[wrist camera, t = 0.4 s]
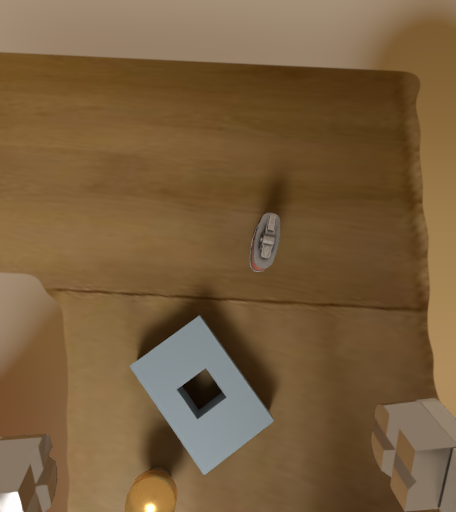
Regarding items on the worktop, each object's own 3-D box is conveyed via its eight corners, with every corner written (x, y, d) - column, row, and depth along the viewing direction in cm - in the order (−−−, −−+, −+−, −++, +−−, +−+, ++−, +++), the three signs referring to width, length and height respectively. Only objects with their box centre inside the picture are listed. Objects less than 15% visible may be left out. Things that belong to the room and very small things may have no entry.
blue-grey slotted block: (200, 314, 61) (199, 315, 56) (269, 411, 60) (274, 420, 55) (136, 361, 60) (129, 366, 55) (204, 460, 59) (204, 475, 54)
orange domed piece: (188, 483, 58) (184, 511, 50) (153, 511, 57) (143, 543, 50) (163, 447, 59) (156, 468, 51) (128, 474, 58) (115, 500, 50)
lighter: (266, 274, 62) (276, 268, 52) (245, 269, 62) (251, 263, 52) (275, 225, 63) (287, 210, 53) (255, 221, 63) (262, 205, 53)
